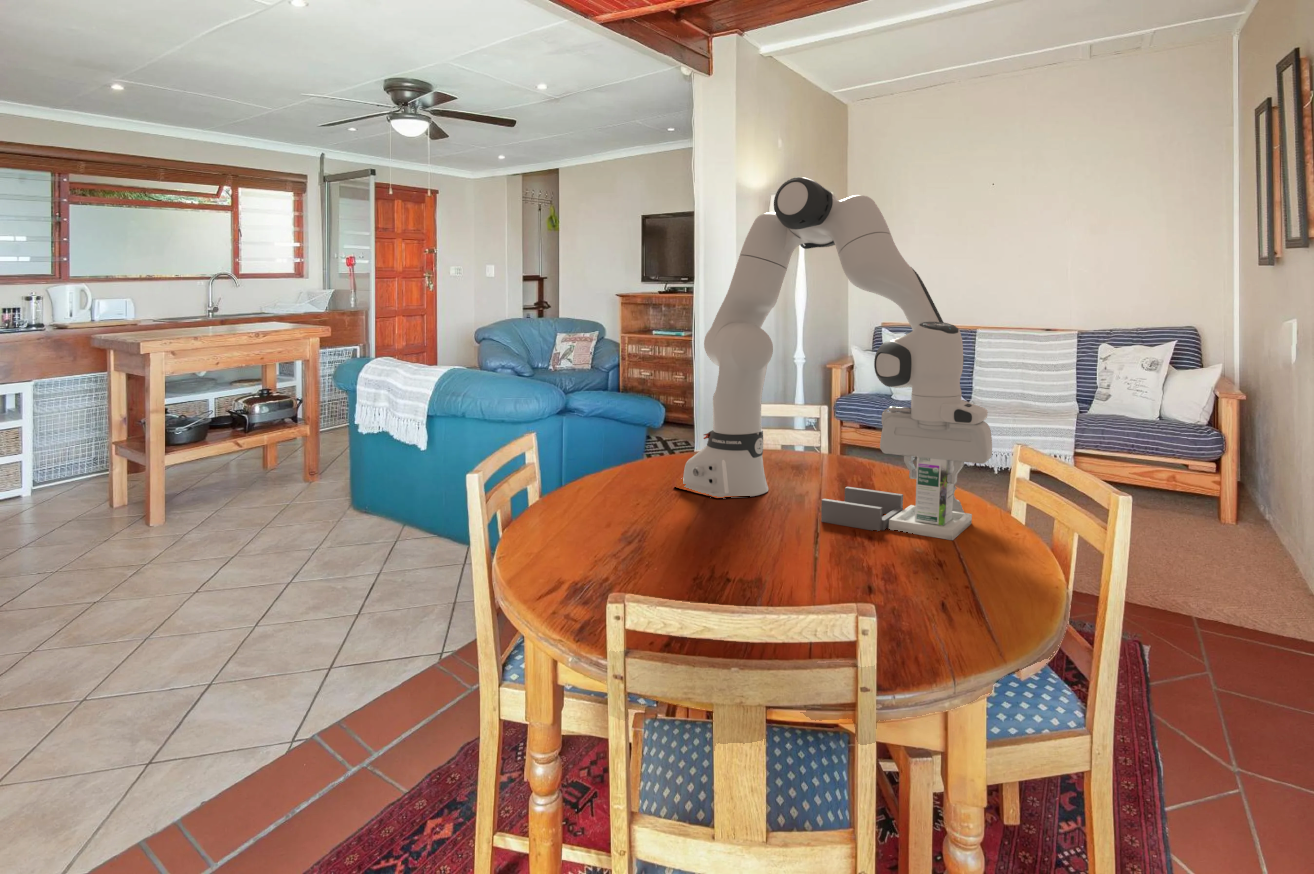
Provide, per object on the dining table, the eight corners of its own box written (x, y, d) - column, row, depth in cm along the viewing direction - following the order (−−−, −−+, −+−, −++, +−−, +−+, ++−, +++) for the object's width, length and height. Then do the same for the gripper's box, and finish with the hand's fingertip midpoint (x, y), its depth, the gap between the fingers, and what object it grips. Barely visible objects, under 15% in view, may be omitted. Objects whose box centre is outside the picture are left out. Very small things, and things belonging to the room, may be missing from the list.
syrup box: (913, 522, 148) (916, 449, 145) (923, 514, 153) (926, 443, 150) (943, 526, 145) (946, 452, 142) (953, 518, 149) (956, 446, 147)
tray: (888, 529, 147) (888, 519, 146) (910, 514, 156) (910, 504, 156) (952, 540, 140) (953, 529, 139) (971, 523, 149) (971, 513, 148)
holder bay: (821, 521, 153) (821, 499, 152) (846, 507, 162) (847, 486, 162) (881, 532, 145) (882, 509, 144) (904, 516, 155) (905, 494, 154)
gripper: (875, 407, 147) (874, 477, 150) (987, 415, 135) (983, 491, 138) (887, 403, 152) (886, 471, 155) (996, 410, 140) (992, 483, 143)
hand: (932, 480), depth 146 cm, fingers closed on syrup box, 6 cm apart
